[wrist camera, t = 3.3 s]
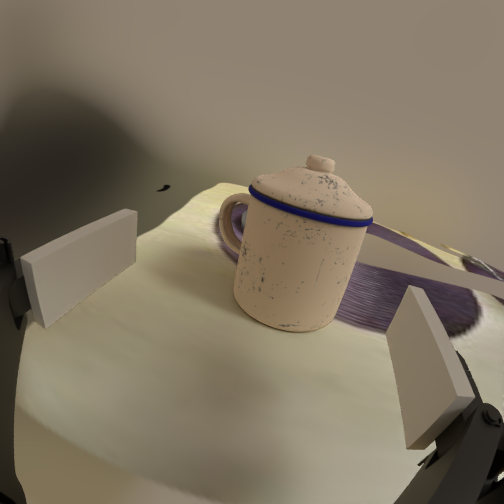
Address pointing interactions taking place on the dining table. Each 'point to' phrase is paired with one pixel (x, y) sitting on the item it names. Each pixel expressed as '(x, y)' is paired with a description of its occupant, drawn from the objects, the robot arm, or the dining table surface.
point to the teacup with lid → (296, 245)
